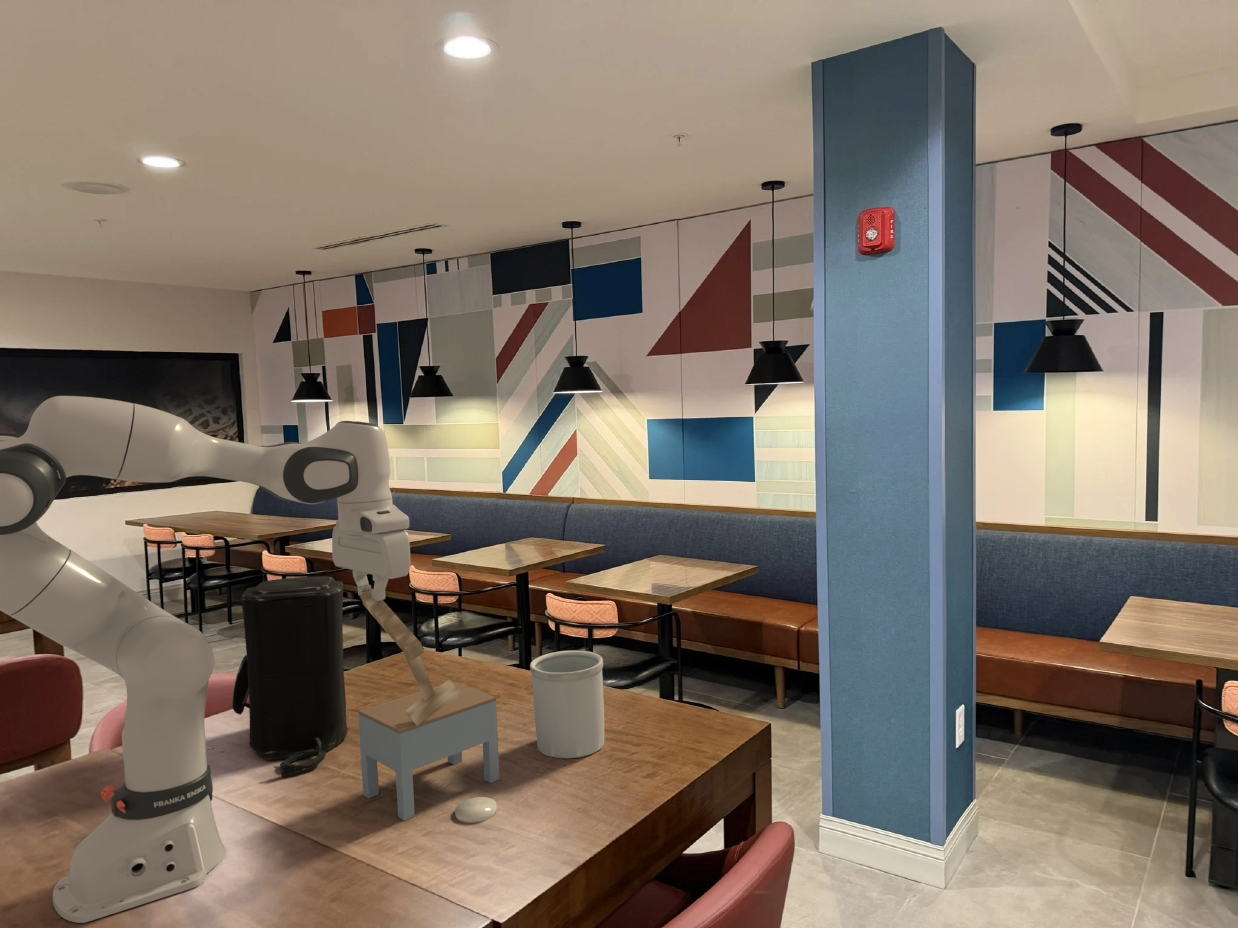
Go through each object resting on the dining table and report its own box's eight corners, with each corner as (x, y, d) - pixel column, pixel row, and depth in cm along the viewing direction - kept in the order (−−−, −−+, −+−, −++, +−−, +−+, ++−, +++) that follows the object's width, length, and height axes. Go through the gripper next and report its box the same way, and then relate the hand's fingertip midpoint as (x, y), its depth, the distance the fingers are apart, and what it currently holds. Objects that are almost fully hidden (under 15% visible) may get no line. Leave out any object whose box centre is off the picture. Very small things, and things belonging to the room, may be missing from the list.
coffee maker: (332, 706, 192) (324, 566, 190) (389, 748, 167) (381, 586, 165) (229, 733, 178) (219, 581, 176) (275, 783, 153) (263, 606, 151)
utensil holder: (522, 757, 161) (519, 670, 159) (547, 728, 175) (544, 648, 174) (595, 763, 157) (591, 674, 156) (613, 732, 172) (610, 651, 170)
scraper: (389, 664, 127) (342, 607, 136) (416, 725, 138) (371, 669, 148) (438, 631, 131) (389, 578, 141) (460, 693, 142) (414, 640, 152)
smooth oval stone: (473, 828, 134) (472, 821, 134) (447, 816, 139) (446, 809, 139) (505, 810, 140) (504, 804, 140) (479, 799, 144) (478, 793, 144)
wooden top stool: (404, 820, 137) (399, 730, 136) (363, 794, 147) (358, 710, 146) (499, 779, 152) (495, 697, 150) (456, 758, 161) (452, 681, 160)
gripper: (319, 515, 142) (325, 593, 143) (379, 523, 128) (385, 610, 129) (353, 510, 146) (359, 586, 147) (415, 518, 132) (420, 602, 133)
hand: (371, 597), depth 138 cm, fingers closed on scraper, 3 cm apart
